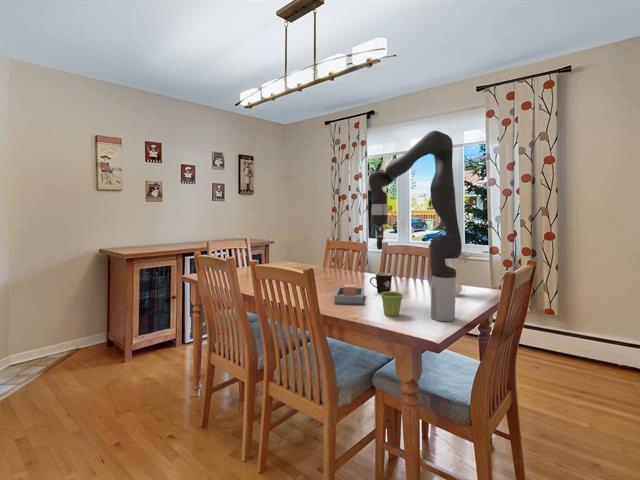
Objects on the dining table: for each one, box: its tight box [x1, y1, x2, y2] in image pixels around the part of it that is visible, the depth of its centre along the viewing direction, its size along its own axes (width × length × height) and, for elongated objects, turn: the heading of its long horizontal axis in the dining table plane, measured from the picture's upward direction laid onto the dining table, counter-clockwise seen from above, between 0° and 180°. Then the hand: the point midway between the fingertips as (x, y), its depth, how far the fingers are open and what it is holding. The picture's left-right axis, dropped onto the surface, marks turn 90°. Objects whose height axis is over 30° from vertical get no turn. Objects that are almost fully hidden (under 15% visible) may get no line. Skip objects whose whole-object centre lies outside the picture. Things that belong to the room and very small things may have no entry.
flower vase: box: [448, 248, 472, 297], centre depth 181 cm, size 13×18×25 cm
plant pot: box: [379, 291, 404, 317], centre depth 147 cm, size 9×9×9 cm
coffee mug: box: [369, 272, 393, 295], centre depth 185 cm, size 12×9×10 cm
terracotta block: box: [343, 283, 357, 296], centre depth 172 cm, size 6×6×6 cm
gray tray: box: [333, 286, 365, 306], centre depth 172 cm, size 18×13×4 cm
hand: (379, 248), depth 168 cm, fingers open, 8 cm apart
